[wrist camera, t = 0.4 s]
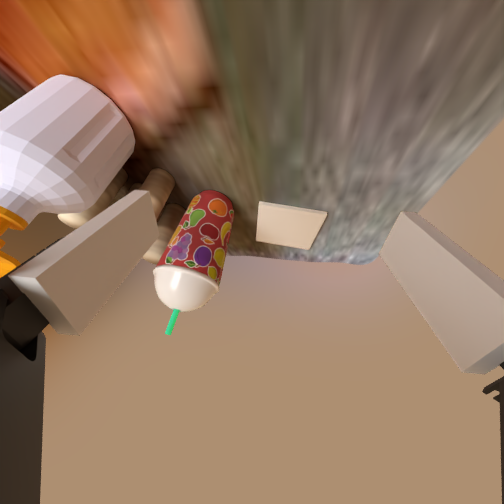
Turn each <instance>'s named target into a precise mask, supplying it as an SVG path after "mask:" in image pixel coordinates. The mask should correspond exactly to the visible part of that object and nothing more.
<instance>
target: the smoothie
mask: <svg viewBox="0 0 504 504" xmlns="http://www.w3.org/2000/svg"><path fill="white" fill-rule="evenodd" d="M233 219H234V210H233V206H232V203H231V201H230V200H229V199H228V198H227V197H226V196H225V195H223V194H222V193H220V192H217V191H213V190H206V191H203V192H201V193H200V194H198V195H196V196H195V197H194V198H193V199H192V201H191V203H190V205H189V206H188V208H187V210H186V212H185V214H184V216H183V218H182V219H181V221H180V223H179V225H178V227H177V229H176V230H175V232H174V234H173V236H172V238H171V240H170V242H169V243H168V245H167V247H166V249H165V251H164V253H163V254H162V256H161V258H160V260H159V262H158V264H157V266H156V268H154V270H153V274H154V276H155V288H156V293H157V295H158V297H159V299H160V300H161V301H162V302H163V303H164V304H165V305H166V306H167V307H169V308H170V309H172V310H173V314H172V316H171V319H170V321H169V324H168V327H167V329H166V332H165V334H168V335H171V333H172V330H173V327H174V324H175V322H176V319H177V316H178V313H179V312H187V311H192V310H196V309H199V308H200V307H202V306H204V305H205V304H206V303H207V302H208V301H209V300H210V299H211V298H212V296H213V295H214V294H216V293H217V292H218V291H219V284H220V280H221V276H222V271H223V266H224V261H225V257H226V252H227V247H228V243H229V238H230V233H231V228H232V224H233Z"/></svg>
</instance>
